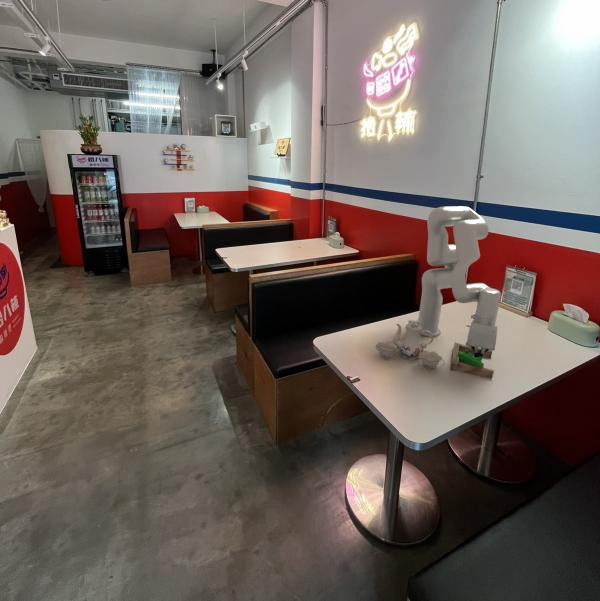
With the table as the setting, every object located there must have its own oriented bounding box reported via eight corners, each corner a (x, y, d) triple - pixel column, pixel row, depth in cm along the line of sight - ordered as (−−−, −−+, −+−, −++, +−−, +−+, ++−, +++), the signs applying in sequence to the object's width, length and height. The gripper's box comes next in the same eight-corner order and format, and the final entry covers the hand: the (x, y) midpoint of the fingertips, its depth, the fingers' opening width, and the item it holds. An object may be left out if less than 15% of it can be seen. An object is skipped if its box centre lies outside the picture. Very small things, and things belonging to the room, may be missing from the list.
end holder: (450, 369, 147) (451, 363, 146) (453, 348, 164) (454, 342, 163) (492, 379, 141) (493, 372, 140) (490, 355, 158) (492, 349, 157)
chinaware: (371, 363, 153) (374, 329, 146) (378, 343, 167) (381, 311, 160) (442, 377, 145) (449, 342, 137) (443, 354, 158) (449, 321, 151)
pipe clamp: (487, 369, 146) (488, 360, 143) (481, 374, 144) (481, 364, 142) (464, 357, 155) (464, 348, 153) (458, 360, 154) (458, 352, 151)
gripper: (464, 319, 144) (457, 361, 150) (507, 326, 139) (498, 368, 145) (464, 313, 151) (457, 353, 157) (505, 319, 145) (496, 360, 151)
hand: (477, 360), depth 151 cm, fingers closed
